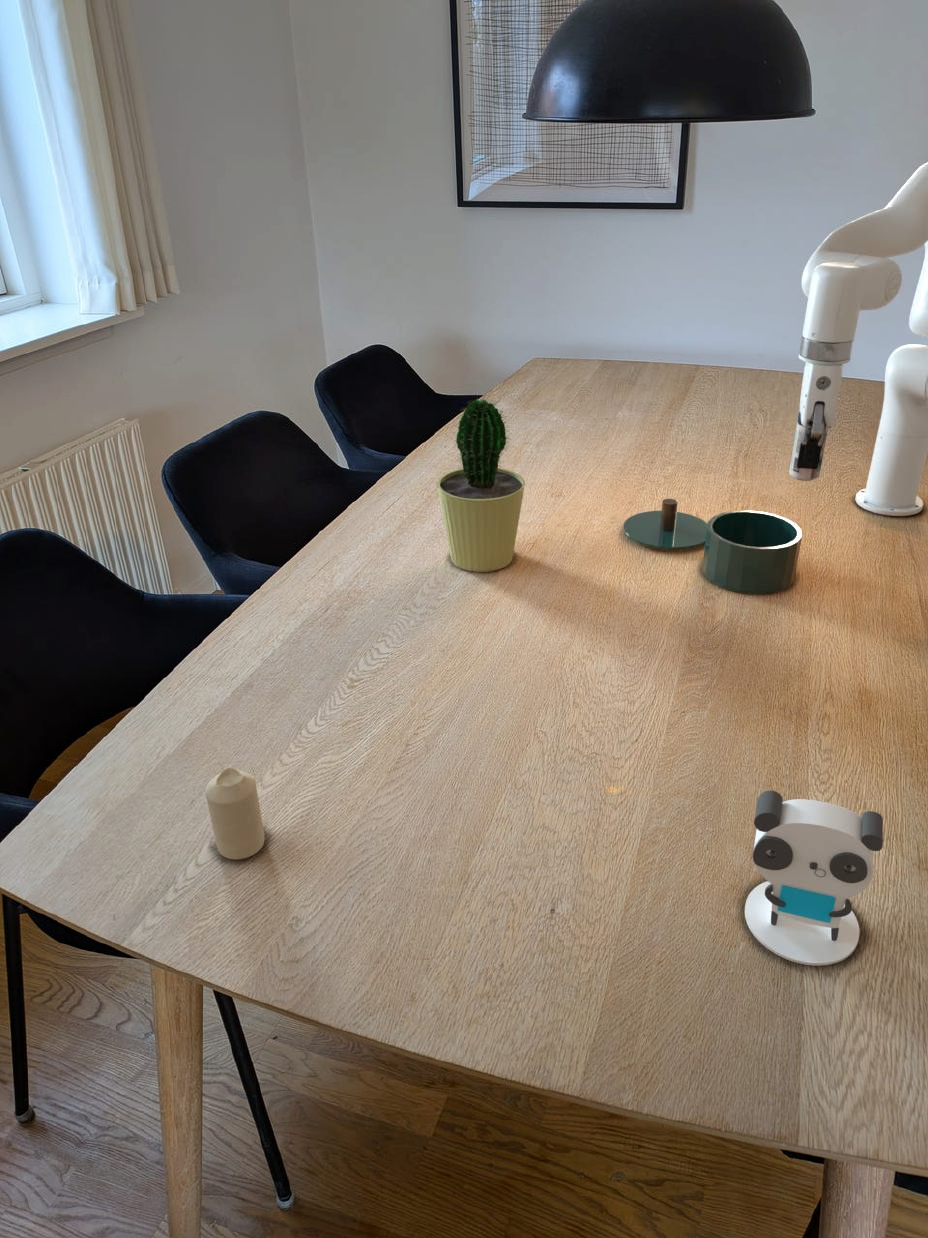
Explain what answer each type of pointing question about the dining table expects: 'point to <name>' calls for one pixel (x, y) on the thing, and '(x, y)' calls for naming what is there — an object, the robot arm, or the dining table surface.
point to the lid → (666, 528)
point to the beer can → (794, 470)
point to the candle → (235, 814)
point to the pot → (751, 552)
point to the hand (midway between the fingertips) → (806, 460)
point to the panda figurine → (810, 877)
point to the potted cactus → (481, 494)
